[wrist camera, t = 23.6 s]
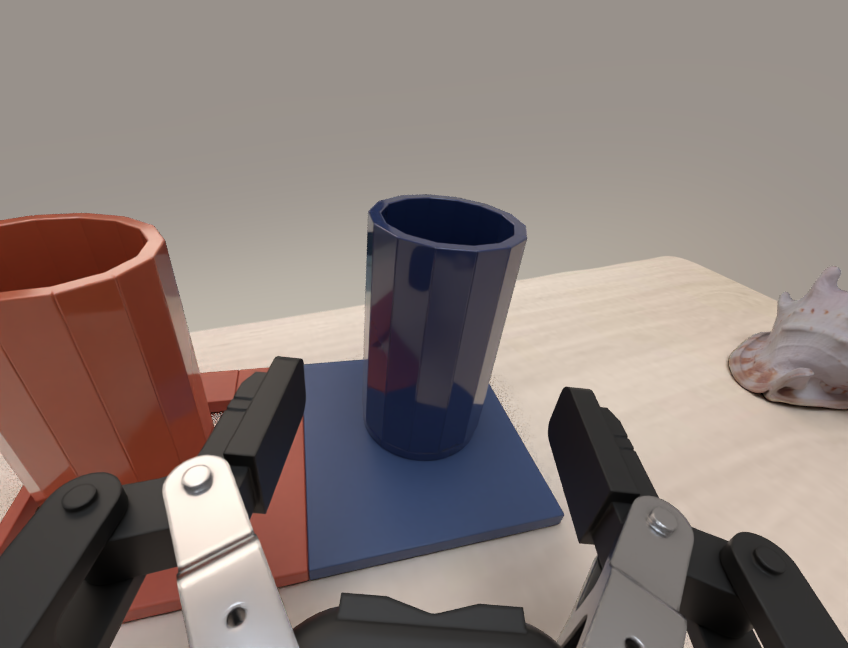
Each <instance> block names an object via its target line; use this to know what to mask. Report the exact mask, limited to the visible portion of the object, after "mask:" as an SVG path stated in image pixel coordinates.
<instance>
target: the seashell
mask: <svg viewBox="0 0 848 648" xmlns="http://www.w3.org/2000/svg"><path fill="white" fill-rule="evenodd" d="M840 275H841V270H840V269H839V268H838V267H837V266H830V267H827V268H826V269H825V270H824V271H823V272H822V273H821V274H820V276H819V277H818V278H817V280H816V281H815V283H814V284H813V286H812V287H811V289H810V290H809V291H808V293H807V294H806V295H805V296H804V297H803V298H801V299H799V300H793V299H792V298H791V297H790V294H789V293H788V292H783V293H782V294H781V295H780V296H779V299H778V307H777V317H776V320H775V323H774V326H773V329H772V331H771V332H760V333H757V334H754V335H753V336H751V337H749V338H748V339H747V340H745V341H744V342H743V343H742V344H741V345H740V346H739V347H738V348H737V349H735V350H734V351H733V352H732V353H731V355H730V358H729V367H730V369H731V373H732V374H733V376H734V378H735V380H736V381H737V382H738V383H739V384H740V385H741V386H742V387H743V388H745V389H747V390H749V391H751V392H754V393H762V392H763V394H764V396H765V397H766V398H767V399H768V400H770V401H774V402H775V401H778V402H784V403H789V404H794V405H802V406H818V407H827V408H835V409H848V292H847V291H844V290H841V289H839V288H838V286H837V281H838V279H839V277H840Z"/></svg>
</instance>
